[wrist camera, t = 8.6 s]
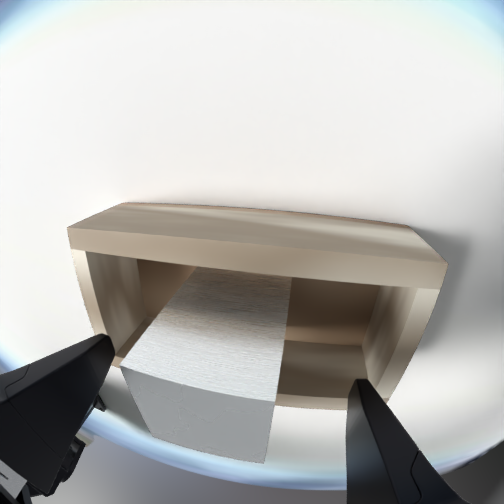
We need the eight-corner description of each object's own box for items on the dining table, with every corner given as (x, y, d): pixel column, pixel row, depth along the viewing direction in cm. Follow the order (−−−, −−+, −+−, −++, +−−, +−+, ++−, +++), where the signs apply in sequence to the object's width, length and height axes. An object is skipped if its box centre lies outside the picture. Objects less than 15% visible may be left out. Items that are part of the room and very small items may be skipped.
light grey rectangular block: (286, 326, 14) (263, 463, 7) (213, 316, 15) (152, 436, 7) (293, 258, 13) (275, 401, 5) (211, 250, 13) (119, 365, 6)
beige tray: (371, 351, 15) (382, 409, 11) (141, 320, 17) (105, 363, 13) (407, 225, 12) (448, 264, 7) (122, 202, 14) (66, 227, 10)
